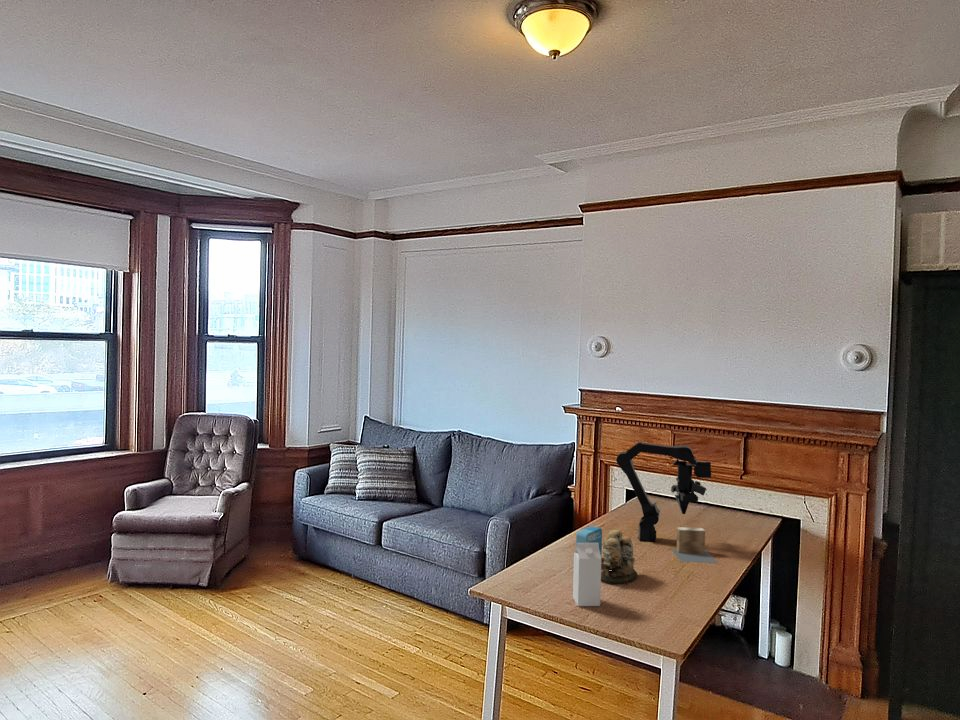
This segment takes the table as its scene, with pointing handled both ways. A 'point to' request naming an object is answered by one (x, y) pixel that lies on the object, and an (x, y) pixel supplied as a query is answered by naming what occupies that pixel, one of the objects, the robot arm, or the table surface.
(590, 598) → the milk carton
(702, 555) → the mat
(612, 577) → the owl figurine
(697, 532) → the slab
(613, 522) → the table surface
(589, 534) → the data package
